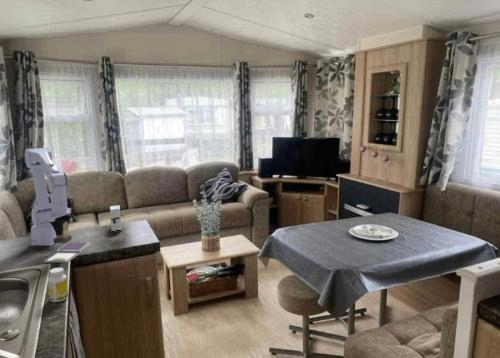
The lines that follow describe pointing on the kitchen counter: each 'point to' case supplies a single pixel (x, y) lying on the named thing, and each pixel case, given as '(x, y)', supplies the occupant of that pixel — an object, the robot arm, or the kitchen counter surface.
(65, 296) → the supplement bottle
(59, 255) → the marked square
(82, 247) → the ink pad
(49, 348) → the kitchen counter surface
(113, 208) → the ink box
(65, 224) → the stamp
